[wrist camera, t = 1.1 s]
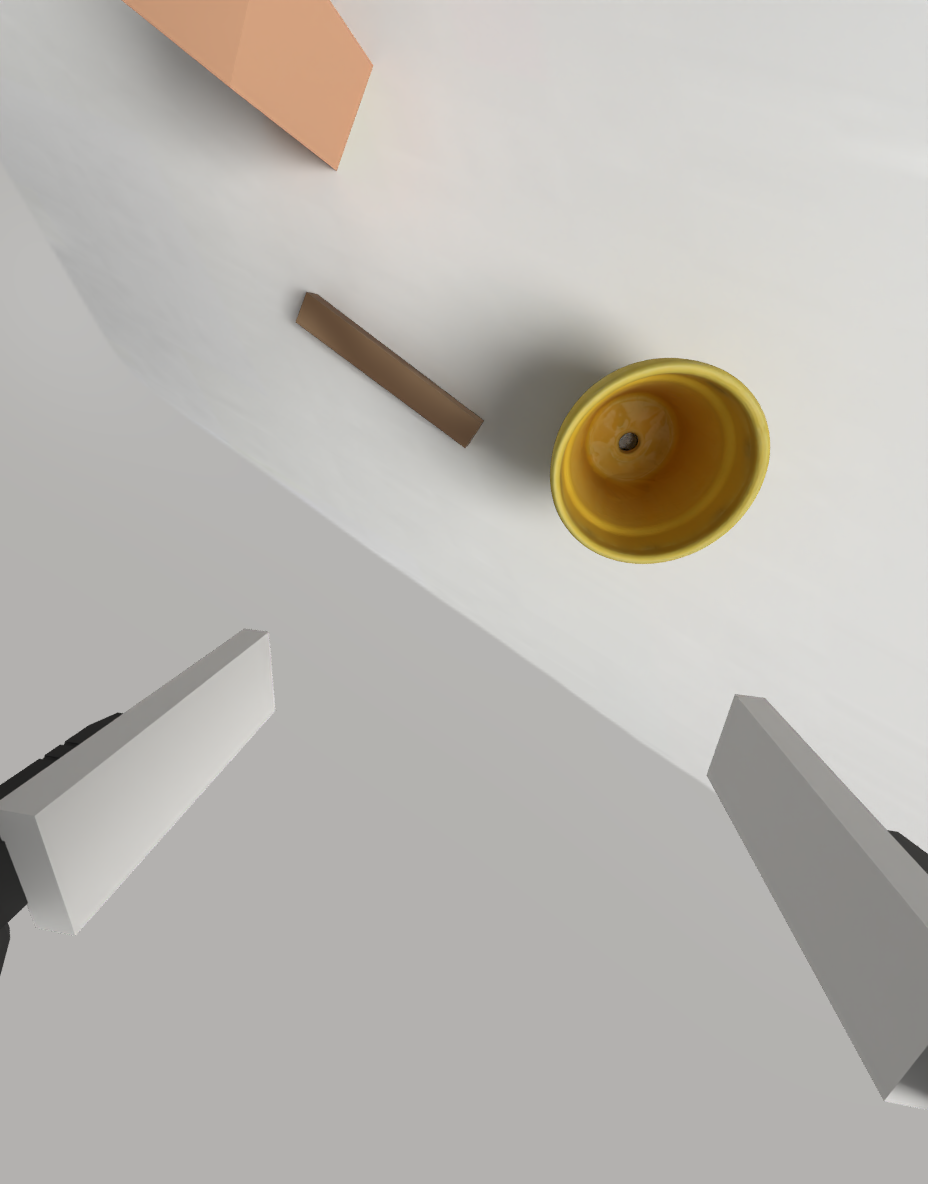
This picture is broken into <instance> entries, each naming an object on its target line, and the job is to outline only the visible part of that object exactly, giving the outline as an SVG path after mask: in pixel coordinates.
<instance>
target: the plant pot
mask: <svg viewBox="0 0 928 1184" xmlns="http://www.w3.org/2000/svg"><path fill="white" fill-rule="evenodd" d="M630 432H631V433H634V434H636V435H637V437H638V444H637V446H636V447H635V448H634V449H632V450H629V451H624V450H622V449H621V448H620V447H619V440H620V438H621V437H622V436H623V435H624V434H626V433H630ZM769 456H770V437H769V430H768V425H767V421H766V418H765V415H764V413H763V411H762V409H761V406H760V404H759V403H758V401H757V400H756V398H755V397H754V395H753V394H752V393H751V392H750V391H749V389H748V388H747V387H746V386H745V385H744V384H743V383H742V382H741V381H739V380H738V379H737V378H735V377H734V376H732V375H731V374H729V373H728V372H726V371H724V370H722V369H720V368H718V367H715V366H713V365H709V364H706V363H703V362H699V361H694V360H688V359H680V358H659V359H650V360H645V361H641V362H637V363H634V364H630V365H628V366H625V367H623V368H620V369H618V370H616V371H614V372H612V373H610V374H609V375H607V376H605V377H604V378H602V379H601V380H599V381H598V382H597V383H595V384H594V385H593V386H592V387H591V388H589V389H588V390H587V391H586V392H585V393H584V394H583V395H582V396H581V397H580V398H579V400H578V401H577V402H576V403H575V404H574V406H573V407H572V408H571V410H570V411H569V413H568V414H567V416H566V418H565V419H564V421H563V423H562V425H561V427H560V430H559V432H558V435H557V437H556V440H555V444H554V448H553V452H552V458H551V467H550V484H551V492H552V497H553V501H554V505H555V507H556V510H557V512H558V515H559V517H560V519H561V520H562V522H563V524H564V525H565V527H566V528H567V529H568V530H569V532H570V533H571V534H572V535H573V536H574V537H575V538H576V539H577V540H578V541H579V542H580V543H582V544H583V545H584V546H585V547H587V548H588V549H590V550H592V551H594V552H595V553H597V554H599V555H602V556H604V557H607V558H610V559H613V560H616V561H621V562H626V563H635V564H651V563H660V562H666V561H671V560H675V559H678V558H681V557H684V556H687V555H690V554H692V553H694V552H697V551H699V550H701V549H703V548H705V547H706V546H708V545H710V544H711V543H713V542H714V541H716V540H717V539H719V538H720V537H721V536H723V535H724V534H725V533H726V532H728V531H729V530H730V529H731V528H732V527H733V526H734V525H735V524H736V523H737V522H738V521H739V520H740V519H741V518H742V516H743V515H744V514H745V513H746V511H747V510H748V509H749V507H750V506H751V504H752V503H753V501H754V499H755V498H756V496H757V494H758V492H759V490H760V488H761V486H762V483H763V481H764V478H765V474H766V471H767V467H768V464H769Z"/></svg>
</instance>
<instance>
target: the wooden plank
mask: <svg viewBox="0 0 928 1184" xmlns="http://www.w3.org/2000/svg"><path fill="white" fill-rule="evenodd" d="M296 323H297V324H299V325H300V326H302V327H303V328H304V329H306V330H307V331H308V332H310V333H311V334H312V335H314V336H315V337H316V338H318V339H319V340H320V341H322V342H323V343H324V344H326V345H327V346H328V347H330V348H331V349H332V350H334V351H335V352H337V353H338V354H339V355H341V356H342V357H343V358H345V359H346V360H347V361H349V362H350V363H351V364H353V365H354V366H355V367H357V368H358V369H359V370H361V371H362V372H363V373H365V374H366V375H367V376H369V377H370V378H372V379H373V380H374V381H376V382H377V383H378V384H380V385H381V386H382V387H384V388H385V389H386V390H388V391H389V392H390V393H392V394H393V395H394V396H396V397H397V398H398V399H400V400H401V401H402V402H404V403H405V404H406V405H408V406H409V407H411V408H412V409H413V410H415V411H416V412H417V413H419V414H420V415H421V416H423V417H424V418H425V419H427V420H428V421H429V422H431V423H432V424H433V425H435V426H436V427H437V428H439V429H440V430H441V431H443V432H444V433H446V434H447V435H448V436H450V437H451V438H452V439H454V440H455V441H456V442H458V443H459V444H460V445H462V446H463V447H464V448H466V447H467V446H468V444H469V443H470V442H471V440H472V439H473V437H474V435H475V434H476V432H477V431H478V429H479V428H480V426H481V425H482V423H483V422H484V420H482V419H481V418H480V417H478V416H477V415H476V414H474V413H473V412H472V411H471V410H469V409H468V408H467V407H465V406H464V405H463V404H461V403H460V402H459V401H457V400H456V399H455V398H453V397H452V396H451V395H449V394H448V393H447V392H446V391H444V390H443V389H442V388H440V387H439V386H438V385H436V384H435V383H434V382H432V381H431V380H430V379H428V378H427V377H426V376H424V375H423V374H422V373H420V372H419V371H418V370H417V369H415V368H414V367H413V366H411V365H410V364H409V363H407V362H406V361H405V360H403V359H402V358H401V357H399V356H398V355H397V354H395V353H394V352H393V351H391V350H390V349H389V348H388V347H386V346H385V345H384V344H382V343H381V342H380V341H378V340H377V339H376V338H374V337H373V336H372V335H370V334H369V333H368V332H366V331H365V330H364V329H362V328H361V327H360V326H359V325H357V324H356V323H355V322H353V321H352V320H351V319H349V318H348V317H347V316H345V315H344V314H343V313H341V312H340V311H339V310H337V309H336V308H335V307H333V306H332V305H331V304H330V303H328V302H327V301H326V300H324V299H323V298H322V297H320V296H319V295H318V294H313V293H309V292H306V295H305V298H304V300H303V303H302V306H301V309H300V311H299V314H298V317H297V320H296Z"/></svg>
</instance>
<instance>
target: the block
mask: <svg viewBox="0 0 928 1184" xmlns="http://www.w3.org/2000/svg"><path fill="white" fill-rule="evenodd" d="M122 1H123V2H125V3H126V4H127V5H128V6H129V7H131V8H132V9H133V10H134V11H136V12H137V13H138V14H139V15H141V16H142V17H143V18H144V19H146V20H147V21H148V22H149V23H150V24H152V25H153V26H154V27H155V28H157V29H158V30H159V31H160V32H162V33H163V34H164V35H165V36H167V37H168V38H169V39H170V40H172V41H173V42H174V43H175V44H176V45H178V46H179V47H180V48H181V49H183V50H184V51H185V52H186V53H188V54H189V55H190V56H191V57H193V58H194V59H195V60H196V61H198V62H199V63H200V64H201V65H202V66H204V67H205V68H206V69H207V70H209V71H210V72H211V73H212V74H214V75H215V76H216V77H217V78H219V79H220V80H221V81H222V82H224V83H225V84H226V85H227V86H228V87H230V88H231V89H232V90H234V91H235V92H236V93H237V94H239V95H240V96H241V97H243V98H244V99H245V100H246V101H248V102H249V103H250V104H252V105H253V106H254V107H255V108H257V109H258V110H259V111H260V112H262V113H263V114H264V115H266V116H267V117H268V118H269V119H271V120H272V121H273V122H275V123H276V124H277V125H278V126H280V127H281V128H282V129H284V130H285V131H286V132H287V133H289V134H290V135H291V136H293V137H294V138H295V139H296V140H298V141H299V142H300V143H301V144H303V145H304V146H305V147H307V148H308V149H309V150H310V151H312V152H313V153H314V154H316V155H317V156H318V157H319V158H321V159H322V160H323V161H325V162H326V163H327V164H328V165H330V166H331V167H332V168H334V169H335V170H336V171H337V168H338V165H339V163H340V160H341V157H342V154H343V151H344V148H345V145H346V142H347V140H348V137H349V134H350V131H351V128H352V125H353V122H354V119H355V117H356V114H357V111H358V108H359V105H360V102H361V99H362V96H363V94H364V91H365V88H366V85H367V82H368V79H369V76H370V73H371V71H372V68H373V64H372V63H371V61H370V60H369V58H368V57H367V55H366V54H365V52H364V51H363V49H362V48H361V46H360V45H359V43H358V42H357V40H356V39H355V37H354V36H353V34H352V33H351V31H350V30H349V28H348V27H347V25H346V24H345V22H344V21H343V19H342V18H341V16H340V15H339V13H338V12H337V11H336V9H335V8H334V6H333V5H332V3H331V2H330V0H122Z"/></svg>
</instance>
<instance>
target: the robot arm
mask: <svg viewBox="0 0 928 1184" xmlns="http://www.w3.org/2000/svg"><path fill="white" fill-rule="evenodd" d="M274 712H275V701H274V688H273V675H272V663H271V651H270V638H269V632H267V631H258V630H252V629H243V630H242V631H240V632H239V633H237V634H236V635H235V636H233V637H232V638H231V639H229V640H227V641H226V642H225V643H223V644H222V645H220V646H219V647H217V648H216V649H215V650H213V651H212V652H210V653H209V654H207V655H206V656H205V657H203V658H202V659H200V660H199V661H198V662H196V663H195V664H193V665H192V666H190V667H189V668H187V669H186V670H185V671H183V672H182V673H180V674H179V675H178V676H176V677H175V678H173V679H172V680H171V681H169V682H168V683H166V684H165V685H163V686H162V687H161V688H159V689H158V690H156V691H155V692H153V693H152V694H151V695H149V696H148V697H146V698H145V699H143V700H142V701H141V702H139V703H138V704H136V705H135V706H133V707H132V708H131V709H129V710H128V711H126V712H125V713H116V714H114V715H111V716H109V717H107V718H105V719H102V720H100V721H98V722H95V723H93V724H91V725H89V726H87V727H86V728H84V729H83V730H81V731H80V732H79V733H77V734H76V735H74V736H72V737H71V738H69V739H68V740H67V741H65V744H64V745H59V746H58V747H56V748H55V749H53V750H52V751H50V752H49V753H47V754H46V755H45V757H44V758H43V759H38V760H37V761H36V762H34V763H32V764H31V765H29V766H28V767H26V768H25V769H24V770H22V771H20V772H19V773H18V774H16V775H15V776H13V777H12V778H10V779H9V780H7V781H6V782H5V783H3V784H1V785H0V974H1V971H2V967H3V963H4V959H5V955H6V952H7V948H8V944H9V940H10V930H9V929H10V928H9V925H8V922H9V921H10V920H11V919H12V918H13V917H14V916H15V915H16V914H17V913H18V912H19V911H20V910H21V909H22V908H23V907H24V906H25V905H27V907H28V909H29V912H30V914H31V917H32V920H33V922H34V925H35V927H36V928H40V929H45V930H50V931H54V932H60V933H64V934H69V935H74V936H76V935H77V934H78V932H79V931H80V930H81V929H82V928H83V927H84V926H85V925H86V923H87V922H88V921H89V920H90V919H91V918H92V917H93V916H94V914H95V913H96V912H97V911H98V910H99V909H100V908H101V906H102V905H103V904H104V903H105V902H106V901H107V899H109V897H110V896H111V895H112V894H113V893H114V892H115V891H116V890H117V888H118V887H119V886H120V885H121V884H122V883H123V882H124V880H125V879H126V878H127V877H128V876H129V875H130V874H131V873H132V872H133V870H134V869H135V868H136V867H137V866H138V865H139V864H140V862H141V861H142V860H143V859H144V858H145V857H146V856H147V855H148V853H149V852H150V851H151V850H152V849H153V848H154V847H155V846H156V845H157V843H158V842H159V841H160V840H161V839H162V838H163V837H164V836H165V834H166V833H167V832H168V831H169V830H170V829H171V828H172V827H173V825H174V824H175V823H176V822H177V821H178V820H179V819H180V818H181V816H182V815H183V814H184V813H185V812H186V811H187V810H188V809H189V807H190V806H191V805H192V804H193V803H194V801H196V800H197V798H198V797H199V796H200V795H201V794H202V793H203V792H204V790H205V789H206V788H207V787H208V786H209V785H210V784H211V783H212V781H213V780H214V779H215V778H216V777H217V776H218V775H219V774H220V772H221V771H222V770H223V769H224V768H225V767H226V766H227V765H228V763H229V762H230V761H231V760H232V759H233V758H234V757H235V755H236V754H237V753H238V752H239V751H240V750H241V749H242V747H243V746H244V745H245V744H246V743H247V742H248V741H249V740H250V739H251V737H252V736H253V735H254V734H255V733H256V732H257V731H258V730H259V729H260V727H261V726H262V725H263V724H264V723H265V722H266V721H267V720H268V718H269V717H270V716H271V715H272V714H273V713H274ZM707 777H708V779H709V780H710V782H711V784H712V786H713V788H714V790H715V791H716V793H717V795H718V797H719V799H720V801H721V802H722V804H723V806H724V808H725V810H726V812H727V814H728V815H729V817H730V819H731V821H732V823H733V824H734V826H735V828H736V830H737V832H738V833H739V836H740V837H741V839H742V841H743V843H744V845H745V846H746V848H747V850H748V852H749V854H750V856H751V858H752V859H753V861H754V863H755V865H756V866H757V869H758V870H759V872H760V874H761V876H762V878H763V879H764V882H765V883H766V885H767V887H768V889H769V891H770V893H771V894H772V896H773V898H774V900H775V902H776V903H777V905H778V907H779V909H780V911H781V913H782V915H783V916H784V918H785V920H786V922H787V924H788V926H789V927H790V929H791V931H792V933H793V935H794V937H795V938H796V940H797V942H798V944H799V946H800V948H801V950H802V951H803V953H804V955H805V957H806V959H807V961H808V962H809V964H810V966H811V968H812V970H813V972H814V973H815V975H816V977H817V979H818V981H819V983H820V984H821V986H822V988H823V990H824V992H825V994H826V996H827V997H828V999H829V1001H830V1003H831V1005H832V1006H833V1008H834V1010H835V1012H836V1014H837V1015H838V1017H839V1019H840V1021H841V1023H842V1025H843V1027H844V1029H845V1030H846V1032H847V1034H848V1036H849V1038H850V1039H851V1041H852V1043H853V1045H854V1047H855V1049H856V1051H857V1052H858V1054H859V1056H860V1058H861V1060H862V1062H863V1064H864V1065H865V1067H866V1069H867V1071H868V1073H869V1075H870V1076H871V1078H872V1080H873V1082H874V1084H875V1086H876V1087H877V1089H878V1091H879V1093H880V1095H881V1097H882V1098H883V1100H884V1101H886V1102H891V1103H896V1104H900V1105H906V1106H910V1107H915V1108H920V1109H925V1110H928V854H927V853H926V852H924V851H923V850H922V849H920V848H919V847H918V846H916V845H915V844H914V843H912V842H911V841H910V840H908V839H907V838H906V837H904V836H903V835H902V834H900V833H899V832H895V831H889V830H886V829H885V828H884V826H883V825H882V824H881V823H880V822H879V821H878V820H877V819H876V818H875V817H874V816H873V815H872V813H871V812H870V811H869V810H868V809H867V808H866V807H865V806H864V805H863V804H862V803H861V802H860V800H859V799H858V798H857V797H856V796H855V795H854V794H853V793H852V792H851V791H850V790H849V789H848V787H847V786H846V785H845V784H844V783H843V782H842V781H841V780H840V779H839V778H838V777H837V776H836V774H835V773H834V772H833V771H832V770H831V769H830V768H829V767H828V766H827V765H826V764H825V763H824V761H823V760H822V759H821V758H820V757H819V756H818V755H817V754H816V753H815V752H814V751H813V750H812V748H811V747H810V746H809V745H808V744H807V743H806V742H805V741H804V740H803V739H802V738H801V737H800V735H799V734H798V733H797V732H796V731H795V730H794V729H793V728H792V727H791V726H790V725H789V724H788V722H787V721H786V720H785V719H784V718H783V717H782V716H781V715H780V714H779V713H778V712H777V711H776V709H775V708H774V707H773V706H772V705H771V704H770V703H769V702H768V701H767V700H766V699H765V698H760V697H753V696H745V695H738V694H735V696H734V699H733V701H732V704H731V707H730V710H729V713H728V716H727V719H726V721H725V724H724V727H723V730H722V733H721V736H720V739H719V742H718V744H717V747H716V750H715V753H714V756H713V759H712V762H711V764H710V767H709V770H708V773H707Z"/></svg>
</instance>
